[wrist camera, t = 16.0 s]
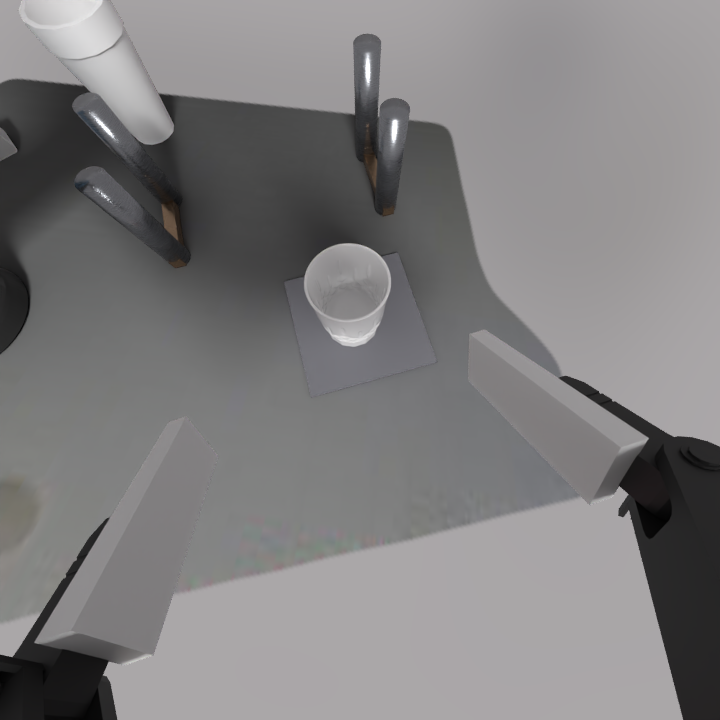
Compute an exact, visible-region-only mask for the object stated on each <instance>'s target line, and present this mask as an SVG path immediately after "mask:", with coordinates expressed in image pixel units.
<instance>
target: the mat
mask: <svg viewBox="0 0 720 720" xmlns="http://www.w3.org/2000/svg"><path fill="white" fill-rule="evenodd" d="M382 259H383V260H384V261H385V263H386V264H387V266H388V269H389V271H390V276H391V289H390V293H389V296H388V299H387V303H386V306H385V310H384V313H383V316H382V319H381V322H380V324H379V326H378V328H377V331H376V333H375V336H374V337H372V338H371V339H370V340H369V341H368V342H367V343H366V344H362V345H359V346H356V347H351V346H344V345H341V344H339V343H338V342H336V341H335V340H333V339H332V337H331V336H330V334H329V332H328V331H327V330H326V329H325V328H324V326H323V325H322V323H321V322H320V320H319V318H318V317H317V315H316V313H315V311H314V310H313V308H312V306H311V304H310V303H309V301H308V299H307V297H306V294H305V290H304V278H305V276H304V277H300V278H296V279H292V280H288V281H284V285H285V289H286V293H287V298H288V302H289V306H290V310H291V315H292V319H293V323H294V327H295V332H296V336H297V340H298V344H299V349H300V353H301V357H302V361H303V366H304V370H305V374H306V378H307V383H308V387H309V391H310V395H311V398H312V397H316V396H319V395H323V394H326V393H330V392H334V391H337V390H341V389H344V388H348V387H351V386H355V385H358V384H362V383H366V382H369V381H373V380H376V379H380V378H383V377H387V376H390V375H394V374H397V373H401V372H405V371H408V370H412V369H415V368H419V367H422V366H426V365H429V364H433V363H436V362H437V360H436V357H435V354H434V351H433V348H432V346H431V343H430V340H429V337H428V335H427V332H426V329H425V326H424V324H423V321H422V318H421V315H420V312H419V310H418V307H417V304H416V301H415V299H414V296H413V293H412V290H411V287H410V285H409V282H408V279H407V276H406V274H405V271H404V268H403V265H402V262H401V260H400V257H399V254H398V252H397V253H393V254H389V255H386V256H382Z"/></svg>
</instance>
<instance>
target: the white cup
mask: <svg viewBox="0 0 720 720" xmlns="http://www.w3.org/2000/svg"><path fill="white" fill-rule="evenodd" d="M390 289H391V276H390V271H389V269H388V266H387V264H386V263H385V261H384V260H383V259H382V257H381V256H380V255H379V254H377V253H376V252H375V251H373V250H372V249H370V248H368V247H366V246H363V245H359V244H353V243H344V244H338V245H334V246H331V247H329V248H327V249H325V250H323V251H322V252H320V253H319V254H318V255H317V256H316V257H315V258H314V259H313V260H312V261H311V263H310V264H309V266H308V268H307V270H306V273H305V278H304V290H305V294H306V297H307V299H308V301H309V303H310V304H311V306H312V308H313V310H314V311H315V313H316V315H317V317H318V318H319V320H320V322H321V323H322V325H323V326H324V328H325V329H326V330H327V331H328V332H329V334H330V336H331V337H332V339H333V340H335V341H336V342H338V343H339V344H341V345H344V346H351V347H356V346H359V345H362V344H366V343H367V342H368V341H369V340H370V339H371V338H372V337H374V336H375V333H376V331H377V328H378V326H379V324H380V322H381V319H382V316H383V313H384V310H385V306H386V303H387V299H388V296H389V293H390Z"/></svg>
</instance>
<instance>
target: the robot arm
mask: <svg viewBox="0 0 720 720" xmlns="http://www.w3.org/2000/svg"><path fill="white" fill-rule="evenodd" d="M27 309H28V295H27V291H26V288H25V286H24V284H23V282H22V281H21V280H20V279H19V278H18V277H17V276H16V275H15V274H14V273H12V272H10V271H8V270H6V269H3V268H1V267H0V353H1V352H2V351H3V350H4V349H5V348H6V347H7V346H8V345H9V344H10V343H11V342H12V341H13V340H14V338H15V337H16V335H17V334H18V332H19V331H20V329H21V327H22V325H23V323H24V320H25V318H26V314H27ZM468 381H469V382H470V383H471V384H472V385H473V386H474V387H475V388H476V389H477V390H478V391H479V392H480V393H481V394H482V395H483V396H484V397H485V398H486V399H487V400H488V401H489V402H490V403H491V404H492V405H493V406H494V407H495V408H496V409H497V410H498V411H499V413H500V414H501V415H502V416H503V417H504V418H505V419H506V420H507V421H508V422H509V423H510V424H511V425H512V426H513V427H514V428H515V429H516V430H517V431H518V432H519V433H520V434H521V435H522V436H523V437H524V438H525V439H526V440H527V441H528V442H529V443H530V444H531V445H532V446H533V448H534V449H535V450H536V451H537V452H538V453H539V454H540V455H541V456H542V457H543V458H544V459H545V460H546V461H547V462H548V463H549V464H550V465H551V466H552V467H553V468H554V469H555V470H556V471H557V472H558V473H559V474H560V475H561V476H562V477H563V478H564V479H565V480H566V481H567V483H568V484H569V485H570V486H571V487H572V488H573V489H574V490H575V491H576V492H577V493H578V494H579V495H580V496H581V497H582V498H583V499H584V500H585V501H586V502H587V503H588V504H589V505H591V504H594V503H597V502H600V501H603V500H605V499H609V498H611V497H613V495H614V493H615V492H616V490H617V489H618V487H619V486H620V487H621V488H622V489H623V490H625V491H626V492H627V493H628V494H629V495H628V496H627V498H626V499H625V501H624V502H623V504H622V505H621V507H620V508H619V515H618V516H621V517H624V516H625V514H626V513H627V512H628V510H629V511H630V515H631V520H632V523H633V526H634V530H635V534H636V538H637V542H638V546H639V550H640V554H641V558H642V562H643V565H644V569H645V573H646V577H647V581H648V584H649V589H650V593H651V597H652V600H653V604H654V608H655V612H656V616H657V620H658V624H659V627H660V631H661V635H662V639H663V643H664V647H665V651H666V654H667V658H668V662H669V666H670V670H671V674H672V678H673V682H674V685H675V689H676V693H677V697H678V701H679V704H680V709H681V713H682V717H683V720H720V447H719V446H717V445H714V444H712V443H710V442H708V441H704V440H700V439H696V438H692V437H679V436H678V437H673V436H671V435H669V434H667V433H665V432H664V431H662V430H660V429H659V428H657V427H656V426H654V425H652V424H651V423H649V422H648V421H646V420H644V419H643V418H641V417H639V416H638V415H636V414H635V413H633V412H631V411H630V410H628V409H626V408H625V407H623V406H621V405H620V404H618V403H617V402H613V401H612V399H610V398H609V397H607V396H605V395H604V394H600V393H599V391H597V390H596V389H594V388H592V387H591V386H589V385H588V384H586V383H584V382H582V381H579V380H576V379H574V378H571V377H568V376H563V377H560V378H557V377H556V376H554V375H553V374H551V373H550V372H548V371H547V370H545V369H544V368H542V367H541V366H539V365H538V364H536V363H535V362H533V361H532V360H530V359H529V358H527V357H526V356H524V355H523V354H521V353H519V352H518V351H516V350H515V349H513V348H512V347H510V346H509V345H507V344H506V343H504V342H503V341H501V340H500V339H498V338H497V337H495V336H494V335H492V334H491V333H489V332H488V331H486V330H482V331H478V332H475V333H471V334H469V366H468ZM217 459H218V455H217V453H216V452H215V451H214V450H213V449H212V447H211V446H210V445H209V444H208V442H207V441H206V440H205V439H204V437H203V436H202V435H201V434H200V433H199V431H198V430H197V429H196V428H195V426H194V425H193V424H192V423H191V422H190V420H189V419H188V418H187V417H183V418H180V419H176V420H173V421H169V422H168V424H167V425H166V427H165V429H164V430H163V432H162V433H161V435H160V437H159V438H158V440H157V442H156V443H155V445H154V447H153V448H152V450H151V452H150V453H149V455H148V456H147V458H146V460H145V461H144V463H143V465H142V466H141V468H140V470H139V471H138V473H137V474H136V476H135V478H134V479H133V481H132V483H131V484H130V486H129V488H128V489H127V491H126V493H125V494H124V496H123V497H122V499H121V501H120V502H119V504H118V506H117V507H116V509H115V511H114V512H113V514H112V516H111V517H110V518H107V519H106V520H105V521H104V522H103V523H102V524H101V525H100V526H99V527H98V528H97V530H96V531H95V532H94V533H93V534H92V535H91V536H90V537H89V539H88V540H87V542H86V544H85V545H84V547H83V548H82V550H81V551H80V553H79V555H78V556H77V560H76V561H74V562H73V564H72V566H71V567H70V569H69V570H68V572H67V573H66V578H65V579H63V580H62V581H61V583H60V584H59V586H58V588H57V589H56V591H55V592H54V594H53V595H52V597H51V599H50V600H49V602H48V603H47V605H46V606H45V608H44V610H43V611H42V613H41V614H40V616H39V618H38V619H37V621H36V622H35V624H34V625H33V627H32V629H31V630H30V632H29V633H28V635H27V636H26V638H25V640H24V641H23V643H22V644H21V646H20V648H19V649H18V650H17V652H16V653H15V655H14V656H13V657H9V656H4V655H0V720H117V716H116V711H115V705H114V700H113V695H112V689H111V684H110V681H109V680H108V678H107V677H106V676H103V674H104V671H105V669H106V666H107V664H108V662H109V661H110V662H114V663H118V664H122V665H127V664H130V663H133V662H136V661H139V660H141V659H144V658H147V657H150V656H153V655H154V652H155V649H156V646H157V643H158V640H159V636H160V633H161V630H162V627H163V624H164V621H165V618H166V615H167V612H168V609H169V606H170V603H171V600H172V597H173V594H174V590H175V587H176V584H177V581H178V578H179V575H180V572H181V569H182V566H183V563H184V560H185V557H186V554H187V551H188V548H189V544H190V541H191V538H192V535H193V532H194V529H195V526H196V523H197V520H198V517H199V514H200V511H201V508H202V505H203V502H204V498H205V495H206V492H207V489H208V486H209V483H210V480H211V477H212V474H213V471H214V468H215V465H216V462H217Z"/></svg>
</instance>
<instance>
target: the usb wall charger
mask: <svg viewBox="0 0 720 720" xmlns="http://www.w3.org/2000/svg"><path fill="white" fill-rule="evenodd" d="M16 152H17V148H16V147H15V146H14V144H13V143H12V141H11V140H10V138H9V137H8V135H7V134H6V132H5V131H4V130H3V129H2V128H0V161H1V160H3V159H5V158H7V157H9V156H11V155H12V154H14V153H16Z"/></svg>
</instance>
